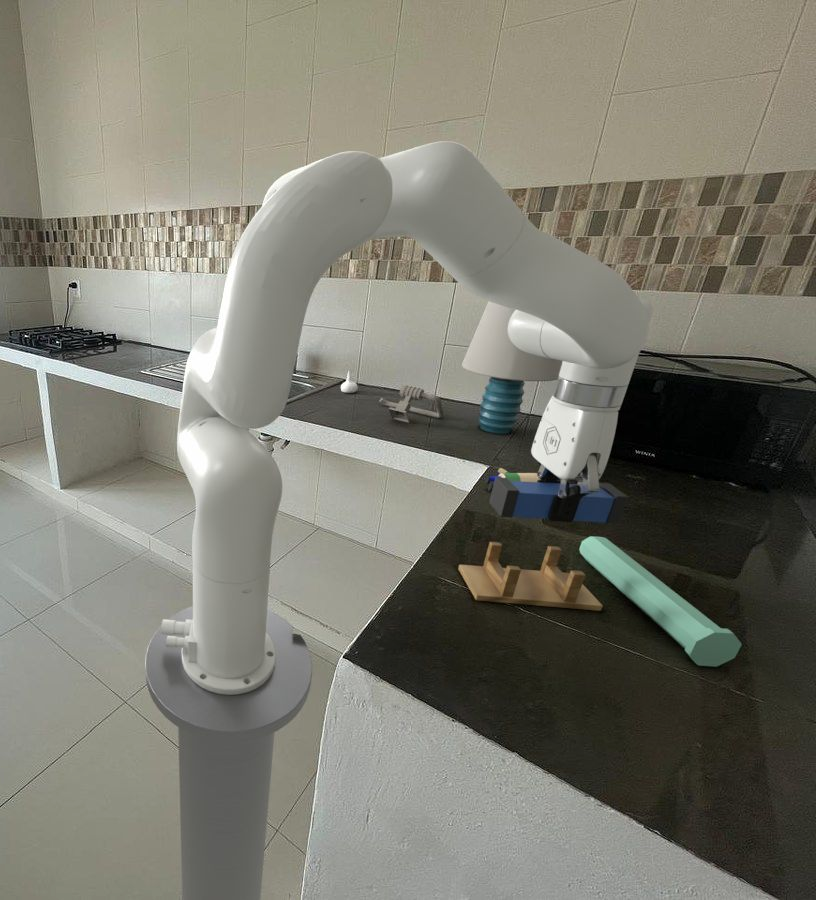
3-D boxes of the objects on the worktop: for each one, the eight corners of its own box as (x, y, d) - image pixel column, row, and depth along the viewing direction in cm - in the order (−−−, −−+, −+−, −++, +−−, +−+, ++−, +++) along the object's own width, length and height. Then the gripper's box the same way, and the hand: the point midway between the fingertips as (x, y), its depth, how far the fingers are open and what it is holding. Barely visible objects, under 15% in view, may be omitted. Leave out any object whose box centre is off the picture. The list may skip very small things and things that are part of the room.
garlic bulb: (358, 394, 182) (360, 373, 179) (341, 393, 183) (343, 373, 180) (355, 390, 188) (358, 369, 185) (339, 389, 189) (341, 369, 186)
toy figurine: (491, 503, 108) (548, 503, 106) (498, 491, 104) (557, 491, 103) (480, 475, 113) (534, 474, 112) (486, 462, 110) (542, 462, 108)
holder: (475, 600, 74) (484, 568, 72) (457, 569, 82) (465, 539, 79) (601, 611, 72) (614, 578, 70) (571, 578, 80) (582, 547, 77)
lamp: (435, 427, 148) (462, 294, 133) (468, 411, 164) (495, 291, 149) (527, 451, 131) (569, 302, 116) (554, 430, 147) (594, 297, 132)
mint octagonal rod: (586, 524, 84) (714, 625, 61) (615, 537, 84) (753, 642, 61) (564, 550, 86) (679, 657, 63) (592, 563, 86) (717, 673, 63)
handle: (500, 516, 70) (507, 490, 69) (488, 502, 74) (495, 476, 73) (618, 524, 69) (629, 496, 67) (599, 509, 73) (609, 483, 71)
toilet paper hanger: (447, 413, 157) (441, 388, 147) (432, 441, 154) (425, 417, 144) (383, 398, 171) (374, 375, 162) (368, 424, 169) (358, 401, 159)
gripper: (528, 377, 73) (500, 485, 80) (596, 411, 57) (553, 541, 64) (581, 379, 72) (548, 488, 79) (664, 413, 56) (614, 545, 63)
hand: (551, 511), depth 71 cm, fingers closed on handle, 4 cm apart
